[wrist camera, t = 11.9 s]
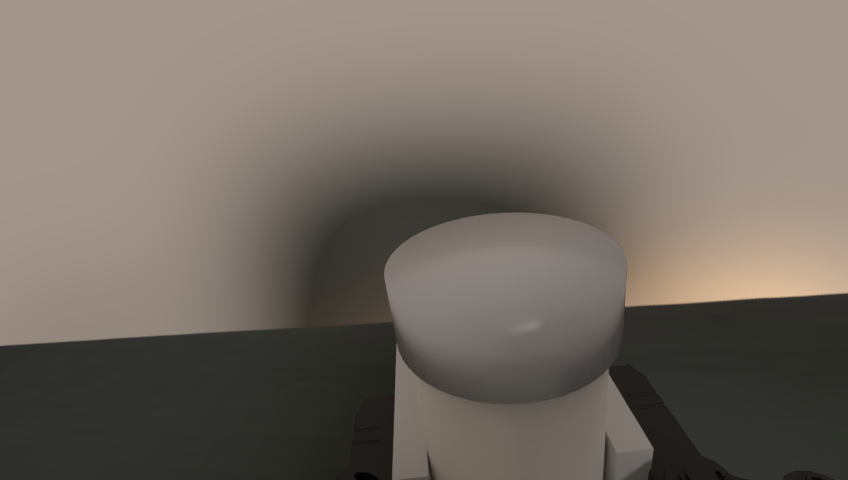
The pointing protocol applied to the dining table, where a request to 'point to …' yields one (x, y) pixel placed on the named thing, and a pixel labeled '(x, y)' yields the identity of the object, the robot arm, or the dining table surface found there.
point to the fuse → (510, 343)
